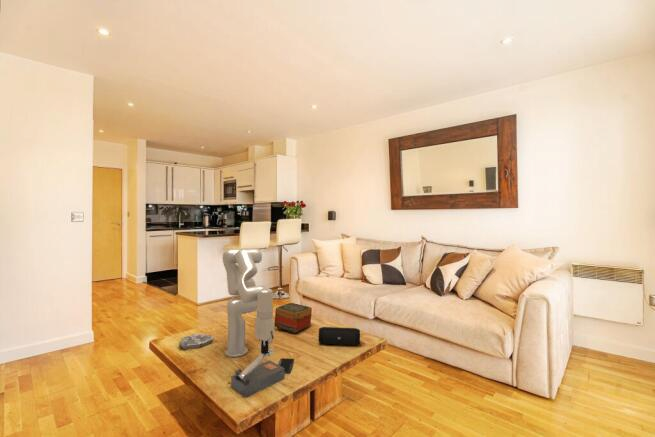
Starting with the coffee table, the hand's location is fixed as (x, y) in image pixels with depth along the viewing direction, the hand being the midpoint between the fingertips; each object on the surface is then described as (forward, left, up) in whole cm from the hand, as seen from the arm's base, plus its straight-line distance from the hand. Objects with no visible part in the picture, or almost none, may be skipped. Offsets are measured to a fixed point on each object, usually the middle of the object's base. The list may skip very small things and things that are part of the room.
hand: (264, 352), depth 148 cm
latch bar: (-1, -4, -4) cm, 6 cm away
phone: (-4, +16, -14) cm, 22 cm away
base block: (-1, -3, -14) cm, 14 cm away
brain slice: (-66, -4, -14) cm, 67 cm away
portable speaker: (-2, +58, -14) cm, 60 cm away
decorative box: (-42, +55, -14) cm, 70 cm away
